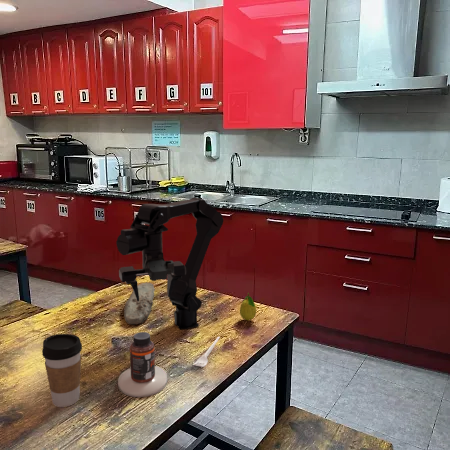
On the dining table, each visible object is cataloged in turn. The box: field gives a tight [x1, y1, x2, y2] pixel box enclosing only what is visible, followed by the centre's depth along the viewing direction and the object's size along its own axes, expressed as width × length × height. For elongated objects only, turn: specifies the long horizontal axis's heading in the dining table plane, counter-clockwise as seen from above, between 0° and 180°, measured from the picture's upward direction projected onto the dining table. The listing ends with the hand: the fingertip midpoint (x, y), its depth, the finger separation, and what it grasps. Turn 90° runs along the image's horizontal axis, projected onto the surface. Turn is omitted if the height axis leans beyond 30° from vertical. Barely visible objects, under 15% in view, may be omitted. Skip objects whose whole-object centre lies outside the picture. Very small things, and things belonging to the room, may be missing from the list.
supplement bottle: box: [129, 331, 156, 383], centre depth 103 cm, size 6×6×11 cm
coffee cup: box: [41, 333, 83, 408], centre depth 95 cm, size 8×8×15 cm
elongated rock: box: [123, 282, 156, 325], centre depth 151 cm, size 35×5×10 cm
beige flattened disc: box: [117, 365, 168, 398], centre depth 104 cm, size 12×12×1 cm
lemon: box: [239, 292, 257, 322], centre depth 138 cm, size 7×6×10 cm
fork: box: [191, 336, 221, 368], centre depth 118 cm, size 3×20×2 cm, turn 163°
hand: (153, 298), depth 123 cm, fingers open, 9 cm apart
